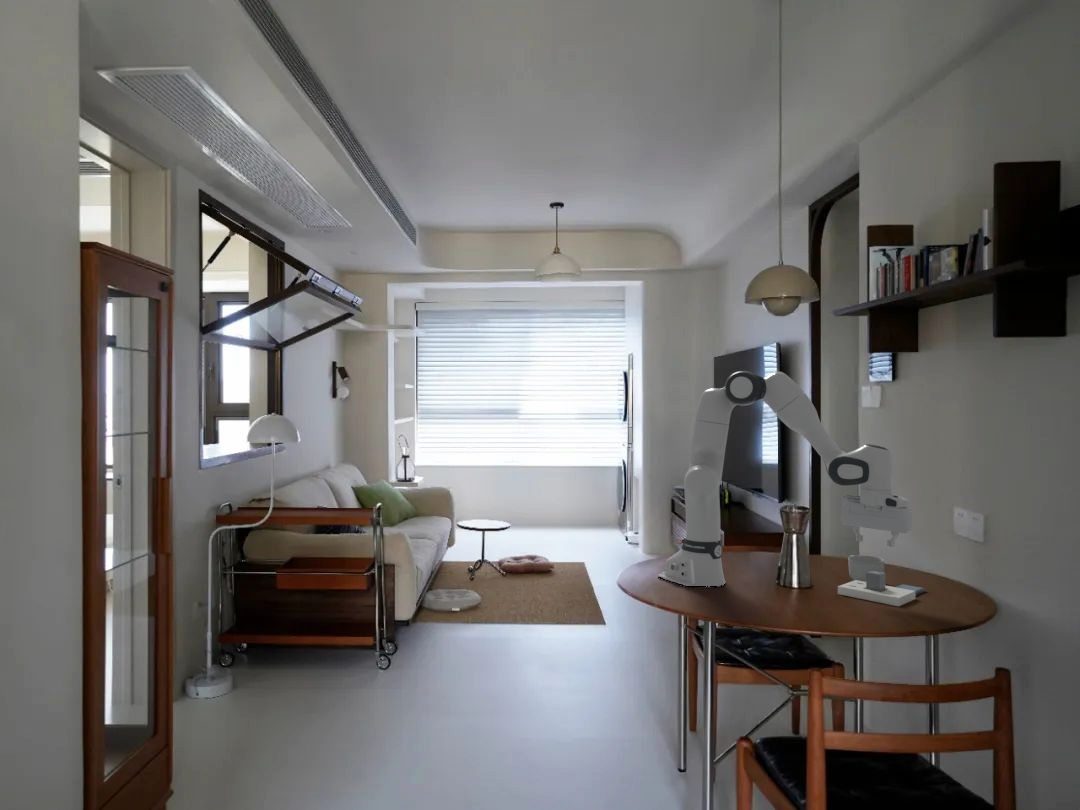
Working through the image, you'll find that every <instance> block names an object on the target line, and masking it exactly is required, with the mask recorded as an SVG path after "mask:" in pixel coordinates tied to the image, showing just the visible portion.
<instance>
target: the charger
mask: <svg viewBox="0 0 1080 810" xmlns="http://www.w3.org/2000/svg"><path fill="white" fill-rule="evenodd" d="M885 585H886V572H884V573H883V572H877V571H869V572H866V589H869V590H874V591H879V592H883V591H885V590H886V588H885Z"/></svg>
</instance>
